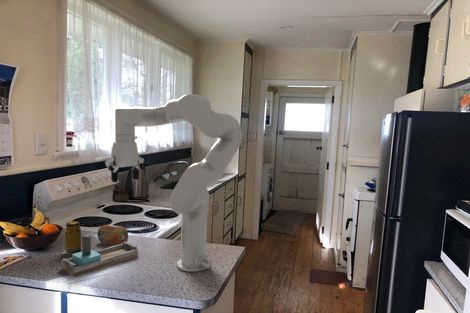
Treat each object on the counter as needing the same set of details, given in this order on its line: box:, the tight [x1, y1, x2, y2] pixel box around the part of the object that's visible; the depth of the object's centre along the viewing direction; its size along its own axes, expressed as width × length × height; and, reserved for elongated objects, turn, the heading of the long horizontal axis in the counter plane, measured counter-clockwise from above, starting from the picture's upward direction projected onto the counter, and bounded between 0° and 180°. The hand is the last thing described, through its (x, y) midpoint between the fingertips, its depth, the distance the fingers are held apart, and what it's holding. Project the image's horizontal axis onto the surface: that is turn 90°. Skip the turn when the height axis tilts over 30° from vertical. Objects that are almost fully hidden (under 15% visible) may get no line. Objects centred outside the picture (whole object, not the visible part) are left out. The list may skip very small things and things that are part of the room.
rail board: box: [60, 241, 139, 278], centre depth 136 cm, size 10×26×4 cm, turn 140°
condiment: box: [61, 220, 82, 255], centre depth 147 cm, size 7×8×12 cm
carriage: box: [71, 234, 101, 266], centre depth 131 cm, size 8×7×10 cm
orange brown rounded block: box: [97, 224, 129, 246], centre depth 156 cm, size 15×3×8 cm, turn 70°
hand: (125, 180), depth 144 cm, fingers open, 9 cm apart
